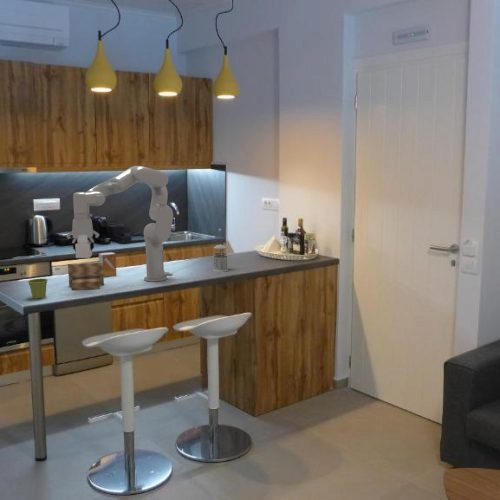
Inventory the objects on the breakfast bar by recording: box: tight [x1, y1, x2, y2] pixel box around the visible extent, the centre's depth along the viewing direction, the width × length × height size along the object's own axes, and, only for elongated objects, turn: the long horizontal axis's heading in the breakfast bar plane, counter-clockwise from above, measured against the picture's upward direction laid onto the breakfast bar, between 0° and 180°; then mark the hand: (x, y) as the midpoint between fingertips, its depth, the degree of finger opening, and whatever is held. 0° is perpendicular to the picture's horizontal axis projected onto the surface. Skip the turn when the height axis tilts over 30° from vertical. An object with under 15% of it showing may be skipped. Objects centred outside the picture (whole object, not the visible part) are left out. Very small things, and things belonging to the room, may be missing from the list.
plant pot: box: [27, 278, 49, 300], centre depth 306 cm, size 9×9×9 cm
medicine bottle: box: [74, 235, 93, 259], centre depth 319 cm, size 7×7×12 cm
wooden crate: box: [67, 262, 105, 291], centre depth 327 cm, size 18×10×12 cm, turn 102°
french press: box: [212, 228, 229, 272], centre depth 369 cm, size 10×12×25 cm
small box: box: [98, 251, 117, 278], centre depth 357 cm, size 8×6×13 cm
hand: (83, 250), depth 319 cm, fingers closed on medicine bottle, 7 cm apart
